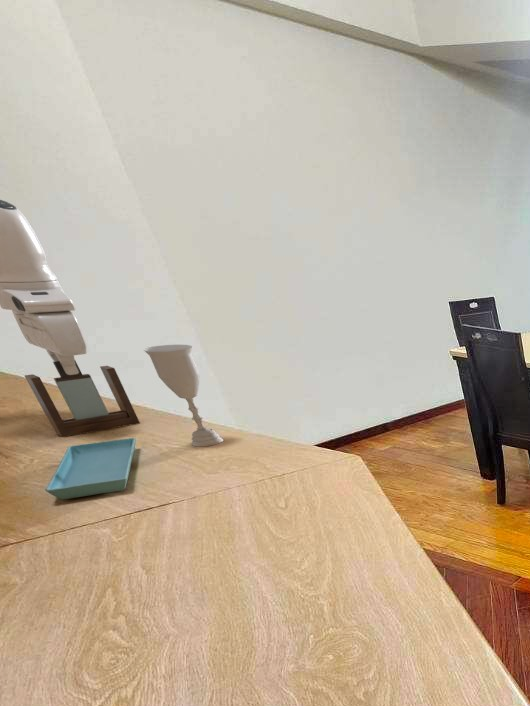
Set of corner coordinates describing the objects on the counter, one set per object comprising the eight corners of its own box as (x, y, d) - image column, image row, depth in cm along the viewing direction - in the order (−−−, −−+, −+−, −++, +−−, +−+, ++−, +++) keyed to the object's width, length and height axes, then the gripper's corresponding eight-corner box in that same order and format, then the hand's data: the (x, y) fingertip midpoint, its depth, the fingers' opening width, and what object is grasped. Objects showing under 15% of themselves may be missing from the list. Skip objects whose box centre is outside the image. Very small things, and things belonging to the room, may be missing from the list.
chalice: (183, 440, 117) (141, 346, 108) (225, 434, 121) (189, 343, 113) (187, 450, 113) (144, 353, 104) (231, 443, 117) (194, 349, 108)
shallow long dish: (73, 456, 108) (66, 443, 106) (140, 447, 113) (134, 435, 112) (52, 505, 90) (43, 490, 89) (133, 492, 95) (126, 478, 94)
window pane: (78, 424, 119) (47, 363, 113) (76, 423, 119) (45, 362, 113) (111, 418, 122) (82, 359, 117) (109, 417, 123) (80, 358, 117)
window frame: (62, 437, 116) (30, 378, 111) (55, 433, 118) (24, 375, 112) (140, 423, 125) (114, 367, 120) (133, 420, 127) (107, 365, 121)
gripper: (-11, 293, 111) (29, 368, 118) (26, 303, 103) (66, 383, 109) (36, 291, 116) (72, 363, 123) (75, 301, 107) (111, 378, 114)
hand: (70, 373), depth 116 cm, fingers closed, pressing on window pane
